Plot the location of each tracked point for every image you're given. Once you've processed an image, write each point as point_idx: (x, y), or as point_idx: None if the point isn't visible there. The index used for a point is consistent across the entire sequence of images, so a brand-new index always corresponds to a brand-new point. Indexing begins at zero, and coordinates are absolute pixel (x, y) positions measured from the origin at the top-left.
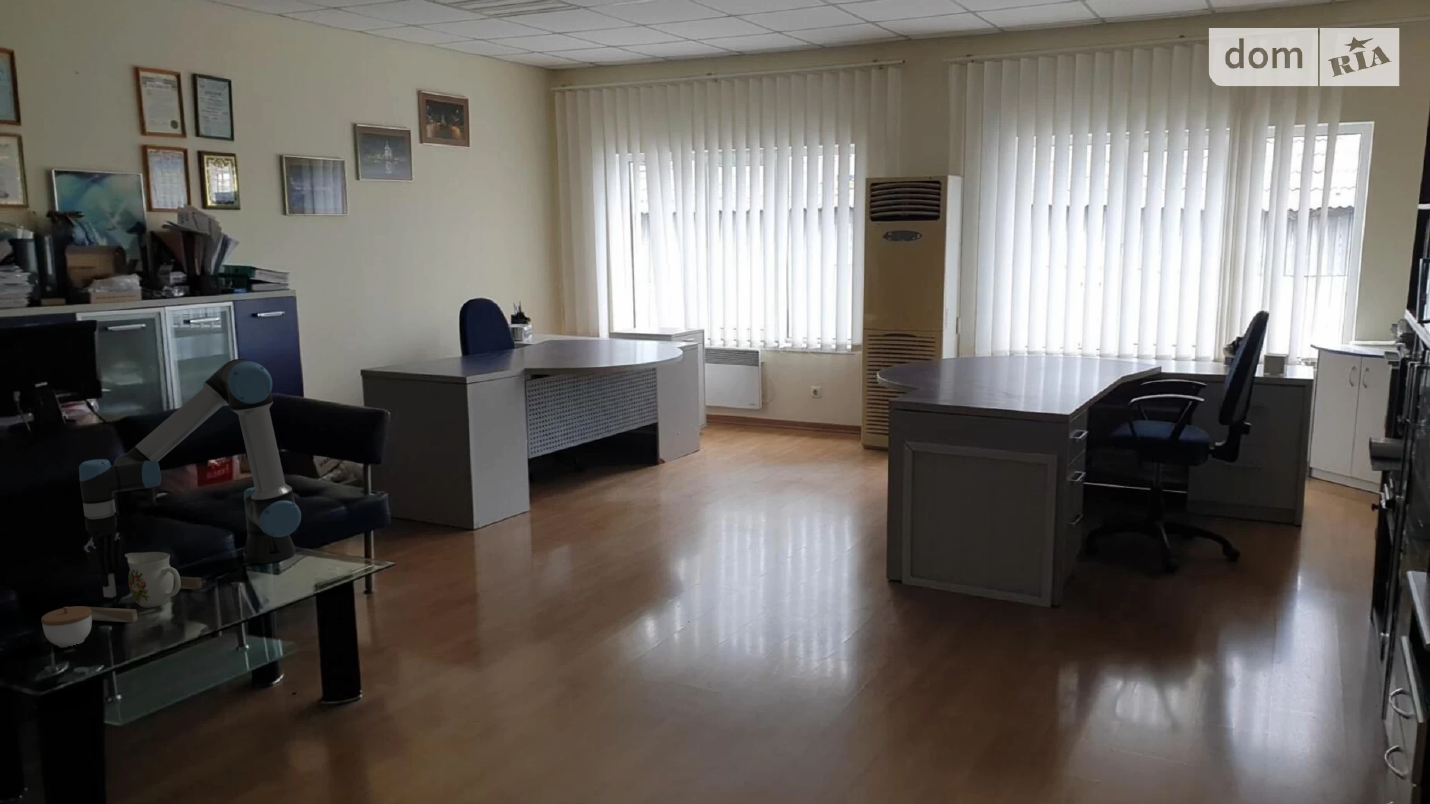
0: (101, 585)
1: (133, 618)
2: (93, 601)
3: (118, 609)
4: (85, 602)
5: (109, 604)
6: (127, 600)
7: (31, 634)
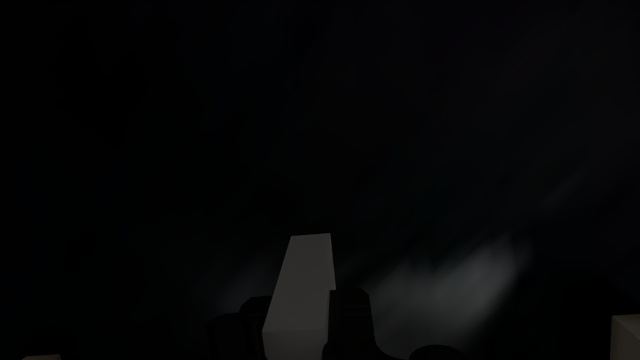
0: (242, 306)
1: None
2: (277, 144)
3: None
4: (245, 104)
5: None
6: None
7: None
